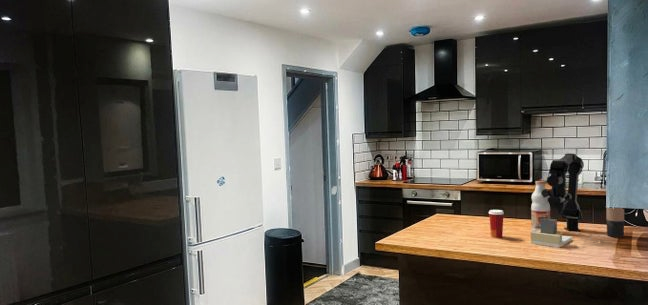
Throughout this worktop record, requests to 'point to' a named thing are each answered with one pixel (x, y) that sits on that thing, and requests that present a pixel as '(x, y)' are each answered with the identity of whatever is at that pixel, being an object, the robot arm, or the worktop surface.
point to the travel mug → (615, 222)
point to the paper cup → (496, 223)
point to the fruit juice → (539, 206)
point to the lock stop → (548, 226)
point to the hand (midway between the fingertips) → (559, 214)
